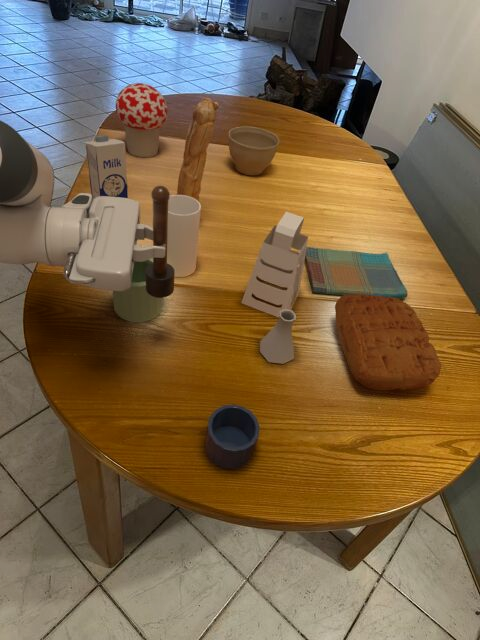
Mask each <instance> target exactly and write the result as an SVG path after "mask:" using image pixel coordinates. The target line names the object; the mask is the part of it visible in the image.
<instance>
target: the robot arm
mask: <svg viewBox="0 0 480 640" xmlns="http://www.w3.org/2000/svg"><path fill="white" fill-rule="evenodd" d="M54 189H55V171H54V168H53V166H52V164H51V161H50V160H49V159H48V158H47V156H46V155H45V154H44V153H43V152H42V151H41V150H39V149H38V148H37V147H36V146H34V144H32V143H30V142H29V141H27V140H26V139H25V138H24V137H23V136H22V135H21V134H20V133H19V132H18V131H17V130H16V129H15V128H13V126H11V125H9V124H8V123H6V122H4V121H2V120H0V264H8V265H29V264H36V263H37V264H43V265H46V266H49V267H63V270H62V276H63V277H64V278H65V279H66V280H67V282H69V284H73V285H82V286H84V287H88V288H91V289H96V290H97V289H98V290H102V291H103V290H105V291H110V292H113V291H124V290H127V289H129V288H130V287H131V281H132V274H133V267H134V261H135V262H143V261H146V260H149V259H152V258H153V257H155V258H164V257H165V249H166V245H165V244H164V243H154V245H153V244H152V245H148V246H143V245H141V244H138V241H144V240H145V239H147V240H150V241H153V226H152V227H151V226H149V225H147V224H145V223H141V203H140V202H139V201H137V200H136V199H133V198H129V197H128V198H121V197H110V196H99V197H96V198H94V199H93V198H92V195H91V193H88V192H80V193H78V194H76V196H74V197H73V198H72V199H71V200H70V201H68V202H67V203H65V204H63V205H62V206H61V207H59V206H58V207H56V206H52V200H53V195H54Z"/></svg>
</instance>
